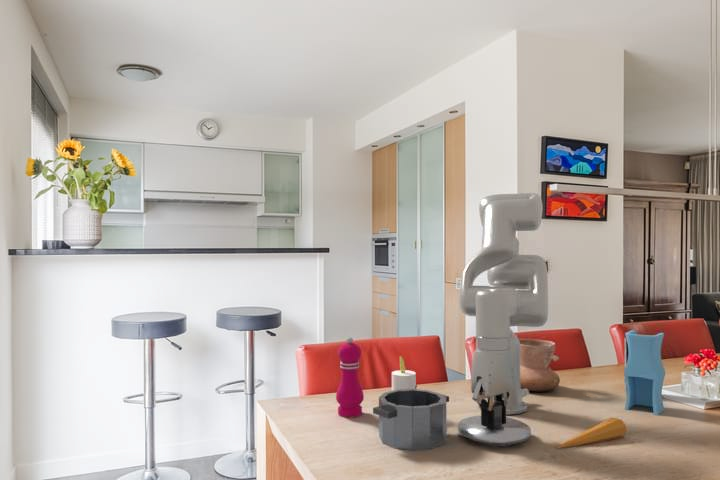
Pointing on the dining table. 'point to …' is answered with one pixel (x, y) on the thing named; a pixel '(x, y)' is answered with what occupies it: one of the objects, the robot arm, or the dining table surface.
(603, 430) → the carrot
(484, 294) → the robot arm
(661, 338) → the blue tall piece
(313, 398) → the dining table surface
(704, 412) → the dining table surface
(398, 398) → the pot
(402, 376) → the candle
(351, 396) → the pepper mill
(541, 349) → the ceramic jug
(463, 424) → the lid
